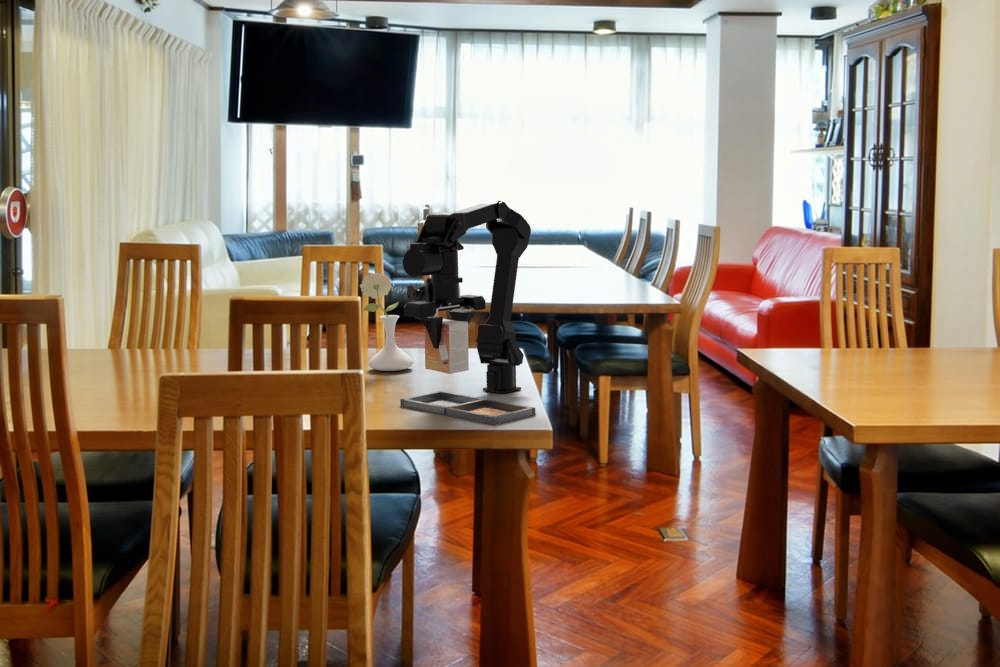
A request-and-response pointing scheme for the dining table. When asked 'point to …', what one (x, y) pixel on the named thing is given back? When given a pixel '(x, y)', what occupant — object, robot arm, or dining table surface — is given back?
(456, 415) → the pocket rack
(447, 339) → the small box
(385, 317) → the flower in vase
